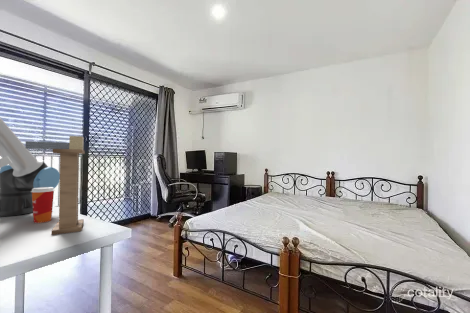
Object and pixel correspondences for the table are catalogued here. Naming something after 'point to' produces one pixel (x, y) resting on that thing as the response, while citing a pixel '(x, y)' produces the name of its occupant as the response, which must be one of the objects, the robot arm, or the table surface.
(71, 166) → the stand
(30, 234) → the table surface
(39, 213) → the paper cup
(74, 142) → the gray and beige block
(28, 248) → the table surface
